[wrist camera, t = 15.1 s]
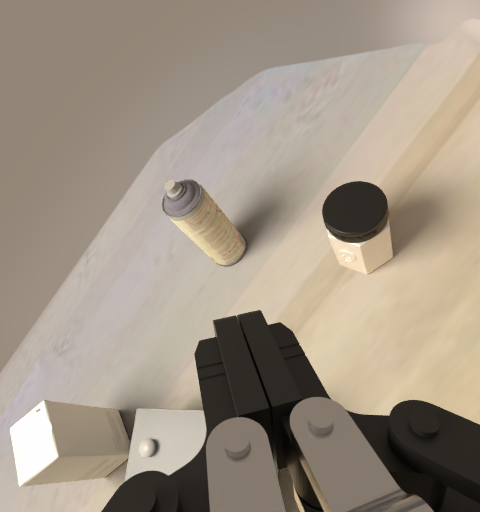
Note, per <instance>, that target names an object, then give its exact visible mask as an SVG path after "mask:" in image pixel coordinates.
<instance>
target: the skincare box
mask: <svg viewBox="0 0 480 512" xmlns="http://www.w3.org/2000/svg"><path fill="white" fill-rule="evenodd" d="M10 432H11V438H12V444H13V450H14V456H15V462H16V468H17V474H18V481H19V487H21V486H30V485H39V484H49V483H59V482H68V481H78V480H88V479H97V478H105V477H106V476H107V475H109V474H110V473H111V472H112V471H114V470H115V469H116V468H117V467H118V466H120V465H121V464H122V463H123V462H125V461H126V460H127V459H128V458H129V442H130V441H129V438H128V436H127V433H126V430H125V427H124V424H123V422H122V419H121V416H120V413H119V411H118V410H115V409H107V408H99V407H91V406H83V405H75V404H67V403H59V402H52V401H47V400H43V401H42V402H41V403H40V404H39V405H38V406H36V407H35V408H34V409H33V410H32V411H30V412H29V413H28V414H27V415H26V416H24V417H23V418H22V419H21V420H19V421H18V422H17V423H16V424H15V425H13V426H12V427H11V428H10Z"/></svg>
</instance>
